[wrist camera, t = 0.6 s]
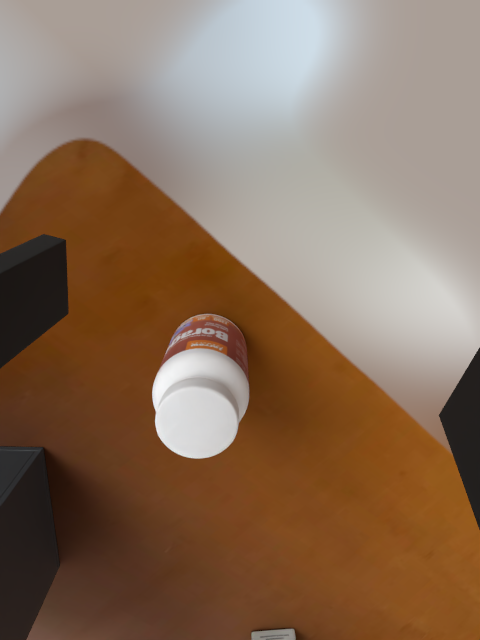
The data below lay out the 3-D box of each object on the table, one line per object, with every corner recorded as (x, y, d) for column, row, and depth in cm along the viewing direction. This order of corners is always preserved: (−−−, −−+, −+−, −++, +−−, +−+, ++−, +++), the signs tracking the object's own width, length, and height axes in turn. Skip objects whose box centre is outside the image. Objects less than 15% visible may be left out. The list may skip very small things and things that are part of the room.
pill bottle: (232, 301, 31) (232, 359, 21) (255, 368, 33) (267, 453, 23) (159, 325, 32) (123, 393, 21) (186, 390, 34) (165, 482, 23)
